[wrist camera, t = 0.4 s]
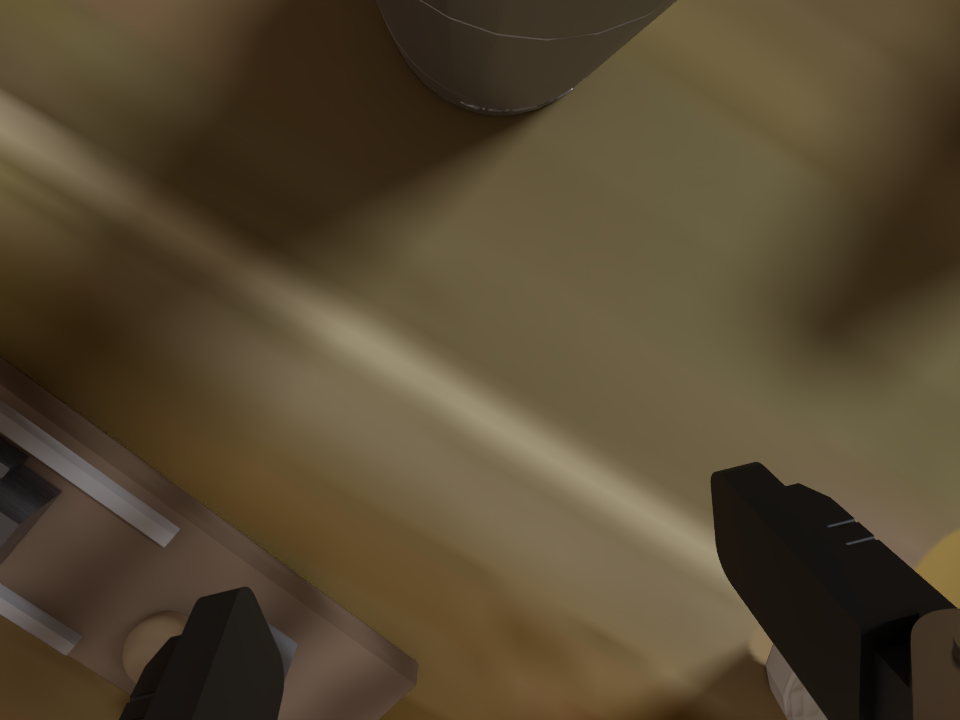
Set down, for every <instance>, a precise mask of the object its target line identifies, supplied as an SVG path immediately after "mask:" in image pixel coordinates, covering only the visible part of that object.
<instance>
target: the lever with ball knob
mask: <svg viewBox="0 0 960 720" xmlns="http://www.w3.org/2000/svg"><path fill="white" fill-rule="evenodd" d="M28 457H29V456H27V455H26V454H25V453H23V452H22V451H20V450H19V449H17V448H16V447H15V446H13V445H12V444H10V443H9V442H8V441H6V440H5V439H3V438H2V437H0V565H1V564H2V563H3V562H4V560H5V559H6V558H7V557H8V556H9V554H10V553H11V552H12V551H13V550H14V548H15V547H16V546H17V545H18V544H19V543H20V541H21V540H22V539H23V538H24V537H25V535H26V534H27V533H28V532H29V531H30V529H31V528H32V527H33V526H34V525H35V523H36V522H37V521H38V520H39V519H40V517H41V516H42V515H43V514H44V513H45V512H46V510H47V509H48V508H49V507H50V506H51V504H52V503H53V502H54V501H55V500H56V498H57V497H58V496H59V495H60V494H61V492H62V491H60V490H59V489H58V488H56V487H55V486H53V485H52V484H50V483H49V482H48V481H46V480H45V479H43V478H42V477H40V476H39V475H38V474H36V473H35V472H33V471H32V470H30V469H29V468H27V467H26V466H25V465H23V464H24V462H25V461H26V460H27V459H28Z"/></svg>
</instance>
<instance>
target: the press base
mask: <svg viewBox="0 0 960 720" xmlns="http://www.w3.org/2000/svg"><path fill="white" fill-rule="evenodd" d="M0 437H2V438H3V439H5V440H6V441H8V442H9V443H10V444H12V445H13V446H15V447H16V448H17V449H19V450H20V451H22V452H23V453H25V454H26V455H27V456H29V457H28V459H27V460H26V461H25V462H24V464H23V465H25V466H26V467H27V468H29V469H30V470H32V471H33V472H35V473H36V474H38V475H39V476H40V477H42V478H43V479H45V480H46V481H48V482H49V483H50V484H52V485H53V486H55V487H56V488H58V489H59V490H60V491H62V492H61V494H60V495H59V496H58V497H57V498H56V500H55V501H54V502H53V503H52V504H51V506H50V507H49V508H48V509H47V510H46V512H45V513H44V514H43V515H42V516H41V517H40V519H39V520H38V521H37V522H36V523H35V525H34V526H33V527H32V528H31V529H30V531H29V532H28V533H27V534H26V535H25V537H24V538H23V539H22V540H21V541H20V543H19V544H18V545H17V546H16V547H15V548H14V550H13V551H12V552H11V553H10V554H9V556H8V557H7V558H6V559H5V560H4V562H3V563H2V564H1V565H0V614H1V615H2V616H4V617H6V618H7V619H9V620H10V621H12V622H13V623H15V624H17V625H18V626H20V627H21V628H23V629H24V630H26V631H28V632H29V633H31V634H32V635H34V636H35V637H37V638H39V639H40V640H42V641H43V642H45V643H46V644H48V645H50V646H51V647H53V648H54V649H56V650H57V651H59V652H61V653H62V654H64V655H65V656H66V655H68V656H70V657H71V658H73V659H75V660H76V661H78V662H79V663H81V664H82V665H84V666H85V667H87V668H89V669H90V670H92V671H93V672H95V673H96V674H98V675H100V676H101V677H103V678H104V679H106V680H107V681H109V682H111V683H112V684H114V685H115V686H117V687H118V688H120V689H122V690H123V691H125V692H126V693H128V694H129V695H131V694H132V692H133V690H134V688H135V686H136V684H137V682H138V680H139V678H140V675H141V673H142V671H143V669H144V667H145V666H146V665H147V663H148V662H149V661H150V660H151V659H152V658H153V657H154V655H155V654H156V653H157V652H158V651H159V650H160V648H161V647H162V646H163V645H164V644H165V643H166V642H167V640H168V639H169V638H170V637H174V636H178V635H181V634H182V632H183V629H184V627H185V625H186V623H187V620H188V618H189V616H190V614H191V611H192V609H193V607H194V605H195V603H196V601H197V600H198V599H199V598H201V597H204V596H208V595H212V594H216V593H220V592H224V591H228V590H232V589H236V588H240V587H244V586H246V587H249V588H250V589H251V590H252V591H253V593H254V595H255V597H256V599H257V601H258V604H259V606H260V608H261V610H262V613H263V615H264V617H265V620H266V622H267V624H268V626H269V629H270V631H271V633H272V635H273V638H274V640H275V642H276V645H277V647H278V649H279V652H280V654H281V658H282V662H283V668H284V691H283V697H282V701H281V706H280V710H279V715H278V719H277V720H378V719H380V718H381V717H382V716H383V715H384V714H385V713H386V712H387V711H388V710H389V709H390V708H392V707H393V706H394V705H395V704H396V703H397V702H398V701H399V700H400V699H401V698H402V697H404V696H405V695H406V694H407V693H408V692H409V691H410V690H411V689H412V688H413V687H414V686H416V680H417V669H418V663H417V662H416V661H415V660H413V659H412V658H410V657H409V656H408V655H406V654H405V653H404V652H402V651H401V650H400V649H398V648H397V647H395V646H394V645H393V644H391V643H390V642H389V641H387V640H386V639H385V638H383V637H382V636H380V635H379V634H378V633H376V632H375V631H374V630H372V629H371V628H370V627H368V626H367V625H365V624H364V623H363V622H361V621H360V620H359V619H357V618H356V617H355V616H353V615H352V614H350V613H349V612H348V611H346V610H345V609H344V608H342V607H341V606H340V605H338V604H337V603H335V602H334V601H333V600H331V599H330V598H329V597H327V596H326V595H325V594H323V593H322V592H320V591H319V590H318V589H316V588H315V587H314V586H312V585H311V584H310V583H308V582H307V581H305V580H304V579H303V578H301V577H300V576H299V575H297V574H296V573H295V572H293V571H292V570H290V569H289V568H288V567H286V566H285V565H284V564H282V563H281V562H280V561H278V560H277V559H275V558H274V557H273V556H271V555H270V554H269V553H267V552H266V551H265V550H263V549H262V548H260V547H259V546H258V545H256V544H255V543H254V542H252V541H251V540H250V539H248V538H247V537H245V536H244V535H243V534H241V533H240V532H239V531H237V530H236V529H235V528H233V527H232V526H230V525H229V524H228V523H226V522H225V521H224V520H222V519H221V518H220V517H218V516H217V515H215V514H214V513H213V512H211V511H210V510H209V509H207V508H206V507H205V506H203V505H202V504H200V503H199V502H198V501H196V500H195V499H194V498H192V497H191V496H190V495H188V494H187V493H185V492H184V491H183V490H181V489H180V488H179V487H177V486H176V485H175V484H173V483H172V482H170V481H169V480H168V479H166V478H165V477H164V476H162V475H161V474H160V473H158V472H157V471H155V470H154V469H153V468H151V467H150V466H149V465H147V464H146V463H145V462H143V461H142V460H140V459H139V458H138V457H136V456H135V455H134V454H132V453H131V452H130V451H128V450H127V449H125V448H124V447H123V446H121V445H120V444H119V443H117V442H116V441H115V440H113V439H112V438H110V437H109V436H108V435H106V434H105V433H104V432H102V431H101V430H100V429H98V428H97V427H95V426H94V425H93V424H91V423H90V422H89V421H87V420H86V419H85V418H83V417H82V416H80V415H79V414H78V413H76V412H75V411H74V410H72V409H71V408H70V407H68V406H67V405H65V404H64V403H63V402H61V401H60V400H59V399H57V398H56V397H55V396H53V395H52V394H50V393H49V392H48V391H46V390H45V389H44V388H42V387H41V386H40V385H38V384H37V383H35V382H34V381H33V380H31V379H30V378H29V377H27V376H26V375H25V374H23V373H22V372H20V371H19V370H18V369H16V368H15V367H14V366H12V365H11V364H10V363H8V362H7V361H5V360H4V359H3V358H1V357H0Z"/></svg>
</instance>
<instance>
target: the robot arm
mask: <svg viewBox="0 0 960 720" xmlns="http://www.w3.org/2000/svg"><path fill="white" fill-rule="evenodd" d="M375 1H376V3H377V5H378V7H379V10H380V12H381V14H382V16H383V19H384V21H385V23H386V25H387V27H388V29H389V31H390V33H391V35H392V37H393V39H394V41H395V43H396V45H397V47H398V49H399V50H400V52H401V54H402V56H403V57H404V59H405V61H406V63H407V64H408V66H409V67H410V68H411V69H412V71H413V72H414V73H415V74H416V75H417V76H418V78H419V79H420V80H421V81H422V82H423V83H424V84H425V85H426V86H427V87H428V88H429V89H431V90H432V91H433V92H435V93H436V94H437V95H439V96H440V97H441V98H443V99H444V100H445V101H448V102H450V103H452V104H454V105H456V106H458V107H461V108H463V109H465V110H467V111H472V112H476V113H481V114H486V115H490V116H491V115H517V114H521V113H525V112H529V111H533V110H537V109H539V108H541V107H543V106H545V105H547V104H549V103H551V102H554V101H556V100H558V99H559V98H561V97H562V96H564V95H565V94H567V93H569V92H570V91H572V90H573V89H574V87H575V86H576V85H577V84H578V83H579V82H581V81H582V80H583V79H584V78H586V77H587V76H589V75H590V74H591V73H592V72H593V71H594V70H596V69H597V68H598V67H599V66H600V65H602V64H603V63H604V62H605V61H606V60H607V59H609V58H610V57H611V56H612V55H613V54H614V53H616V52H617V51H618V50H619V49H620V48H622V47H623V46H624V45H625V44H626V43H627V42H629V41H630V40H631V39H632V38H633V37H635V36H636V35H637V34H638V33H639V32H640V31H642V30H643V29H644V28H645V27H646V26H647V25H649V24H650V23H651V22H652V21H653V20H655V19H656V18H657V17H658V16H659V15H660V14H662V13H663V12H664V11H665V10H666V9H668V8H669V7H670V6H671V5H672V4H673V3H675V2H676V1H677V0H375ZM711 493H712V505H713V517H714V529H715V541H716V548H717V553H718V557H719V560H720V563H721V565H722V568H723V570H724V572H725V574H726V576H727V578H728V580H729V581H730V583H731V584H732V586H733V587H734V589H735V590H736V591H737V593H738V594H739V596H740V597H741V599H742V600H743V601H744V603H745V604H746V606H747V607H748V608H749V610H750V611H751V613H752V614H753V615H754V617H755V618H756V620H757V621H758V622H759V624H760V625H761V627H762V628H763V629H764V631H765V632H766V634H767V635H768V636H769V638H770V639H771V641H772V642H773V643H774V645H775V646H776V648H777V649H778V651H779V652H780V653H781V655H782V656H783V658H784V659H785V660H786V662H787V663H788V665H789V666H790V667H791V669H792V670H793V672H794V673H795V674H796V676H797V677H798V679H799V680H800V681H801V683H802V684H803V686H804V687H805V688H806V690H807V691H808V693H809V694H810V695H811V697H812V698H813V700H814V701H815V703H816V704H817V705H818V707H819V708H820V710H821V711H822V712H823V714H824V715H825V717H826V718H827V719H828V720H960V609H958V608H957V607H955V606H954V605H953V604H952V603H951V602H949V601H948V600H947V599H946V598H945V597H944V596H943V595H941V594H940V593H939V592H938V591H937V590H936V589H934V587H932V586H931V585H930V584H929V583H928V582H927V581H926V580H924V579H923V578H922V577H921V576H920V575H919V574H918V573H916V572H915V571H914V570H913V569H912V568H911V567H909V566H908V565H907V564H906V563H905V562H904V561H903V560H901V559H900V558H899V557H898V556H897V555H896V554H895V553H893V552H892V551H891V550H890V549H889V548H888V547H887V546H885V545H884V544H883V543H882V542H881V541H880V540H875V538H874V535H873V534H872V533H870V532H869V531H868V530H867V529H866V528H865V527H864V526H862V525H861V524H860V523H859V522H857V523H856V522H855V521H854V518H853V517H852V516H851V515H850V514H849V513H848V512H846V511H845V510H844V509H843V508H842V507H841V506H840V505H838V504H837V503H836V502H835V501H834V500H833V499H832V498H830V497H828V496H826V495H824V494H821V493H819V492H817V491H815V490H813V489H810V488H808V487H806V486H804V485H802V484H799V483H797V484H793V485H789V486H785V485H784V484H783V483H781V482H780V481H779V480H778V479H777V478H776V477H775V476H774V475H773V474H772V473H771V472H770V471H769V470H768V469H767V468H766V467H765V466H763V465H762V464H761V463H759V462H753V463H749V464H745V465H741V466H737V467H733V468H729V469H725V470H721V471H717V472H714V473H713V474H712V476H711ZM283 691H284V668H283V662H282V658H281V654H280V652H279V649H278V647H277V645H276V642H275V640H274V638H273V635H272V633H271V631H270V629H269V626H268V624H267V622H266V620H265V617H264V615H263V613H262V610H261V608H260V606H259V604H258V601H257V599H256V597H255V595H254V593H253V591H252V590H251V589H250V588H249V587H246V586H244V587H240V588H236V589H232V590H228V591H224V592H220V593H216V594H212V595H208V596H204V597H201V598H199V599H198V600H197V601H196V603H195V605H194V607H193V609H192V611H191V614H190V616H189V618H188V620H187V623H186V625H185V627H184V629H183V632H182V634H181V635H178V636H174V637H170V638H169V639H168V640H167V642H166V643H165V644H164V645H163V646H162V647H161V648H160V650H159V651H158V652H157V653H156V654H155V655H154V657H153V658H152V659H151V660H150V661H149V662H148V663H147V665H146V666H145V667H144V669H143V671H142V673H141V675H140V678H139V680H138V682H137V684H136V686H135V688H134V690H133V692H132V694H131V696H130V699H131V700H130V703H127V704H126V706H125V708H124V710H123V712H122V714H121V717H120V719H119V720H277V719H278V715H279V710H280V706H281V701H282V697H283Z"/></svg>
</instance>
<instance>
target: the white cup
mask: <svg viewBox="0 0 960 720" xmlns="http://www.w3.org/2000/svg"><path fill="white" fill-rule="evenodd" d="M766 670H767V675H768V681H769V686H770V689H771V691H772V693H773V695H774V697H775V698H776V700H777V702H778V704H779V706H780V707H781V709H782V711H783V713H784V715H785V716H786V718H787V720H828V719H827V718H826V717H825V715H824V714H823V712H822V711H821V710H820V708H819V707H818V705H817V704H816V703H815V701H814V700H813V698H812V697H811V695H810V694H809V693H808V691H807V690H806V688H805V687H804V686H803V684H802V683H801V681H800V680H799V679H798V677H797V676H796V674H795V673H794V672H793V670H792V669H791V667H790V666H789V665H788V663H787V662H786V660H785V659H784V658H783V656H782V655H781V653H780V652H779V651H778V649H777V648H776V646H775V645H774V643H773V646H772V649H771V652H770V655H769V657H768V660H767V662H766Z"/></svg>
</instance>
